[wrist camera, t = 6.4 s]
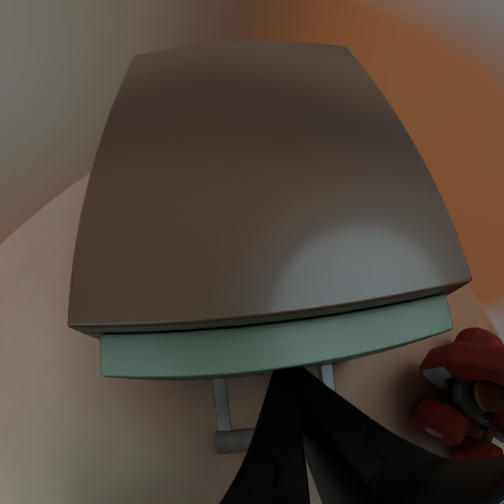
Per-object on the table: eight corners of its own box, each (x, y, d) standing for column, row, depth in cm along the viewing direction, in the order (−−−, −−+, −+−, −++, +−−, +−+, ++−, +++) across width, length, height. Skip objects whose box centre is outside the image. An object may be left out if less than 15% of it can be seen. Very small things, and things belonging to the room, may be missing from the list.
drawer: (367, 419, 14) (466, 438, 6) (181, 444, 13) (118, 500, 5) (317, 179, 20) (347, 77, 12) (171, 190, 20) (139, 87, 12)
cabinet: (359, 338, 17) (473, 280, 7) (166, 360, 16) (66, 327, 6) (315, 163, 22) (346, 46, 13) (167, 174, 21) (133, 55, 12)
